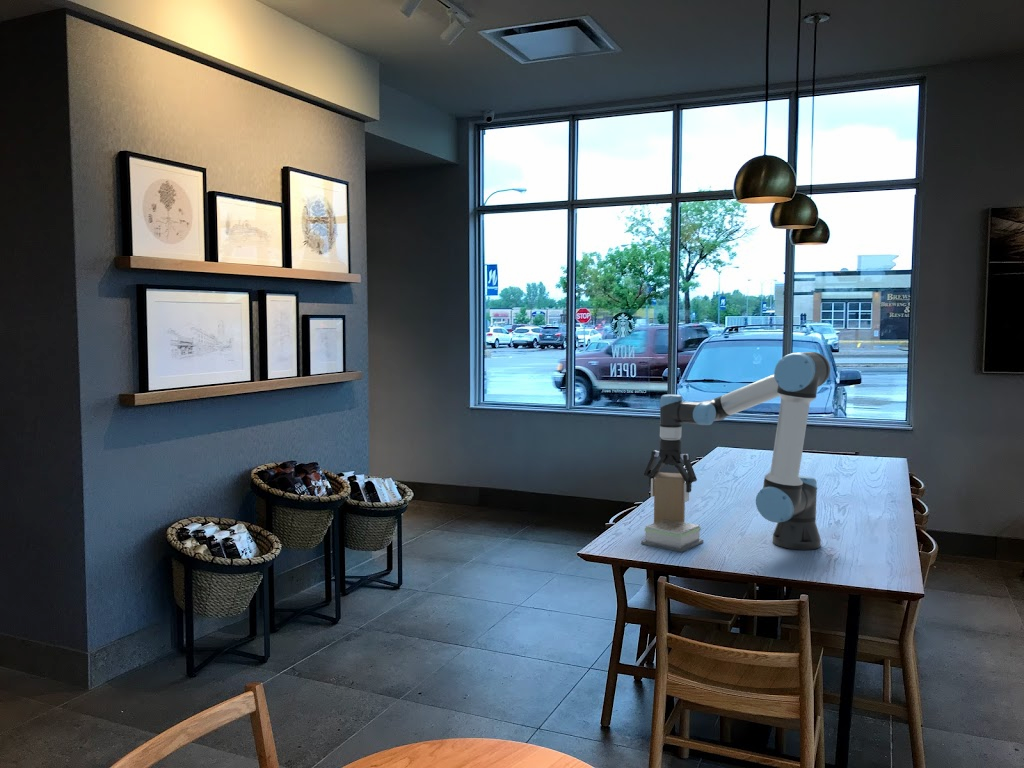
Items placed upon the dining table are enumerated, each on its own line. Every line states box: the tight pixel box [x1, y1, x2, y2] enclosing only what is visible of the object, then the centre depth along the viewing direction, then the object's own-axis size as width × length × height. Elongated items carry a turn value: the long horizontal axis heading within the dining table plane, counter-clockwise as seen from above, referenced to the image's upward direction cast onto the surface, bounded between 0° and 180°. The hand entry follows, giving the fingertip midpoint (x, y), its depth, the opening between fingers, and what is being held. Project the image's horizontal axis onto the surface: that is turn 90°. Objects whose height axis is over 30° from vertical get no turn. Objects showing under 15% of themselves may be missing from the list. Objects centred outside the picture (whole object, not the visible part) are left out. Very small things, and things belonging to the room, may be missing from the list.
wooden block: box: [653, 471, 686, 523], centre depth 284 cm, size 10×10×20 cm
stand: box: [640, 519, 704, 553], centre depth 268 cm, size 15×15×6 cm
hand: (669, 498), depth 284 cm, fingers closed on wooden block, 12 cm apart
